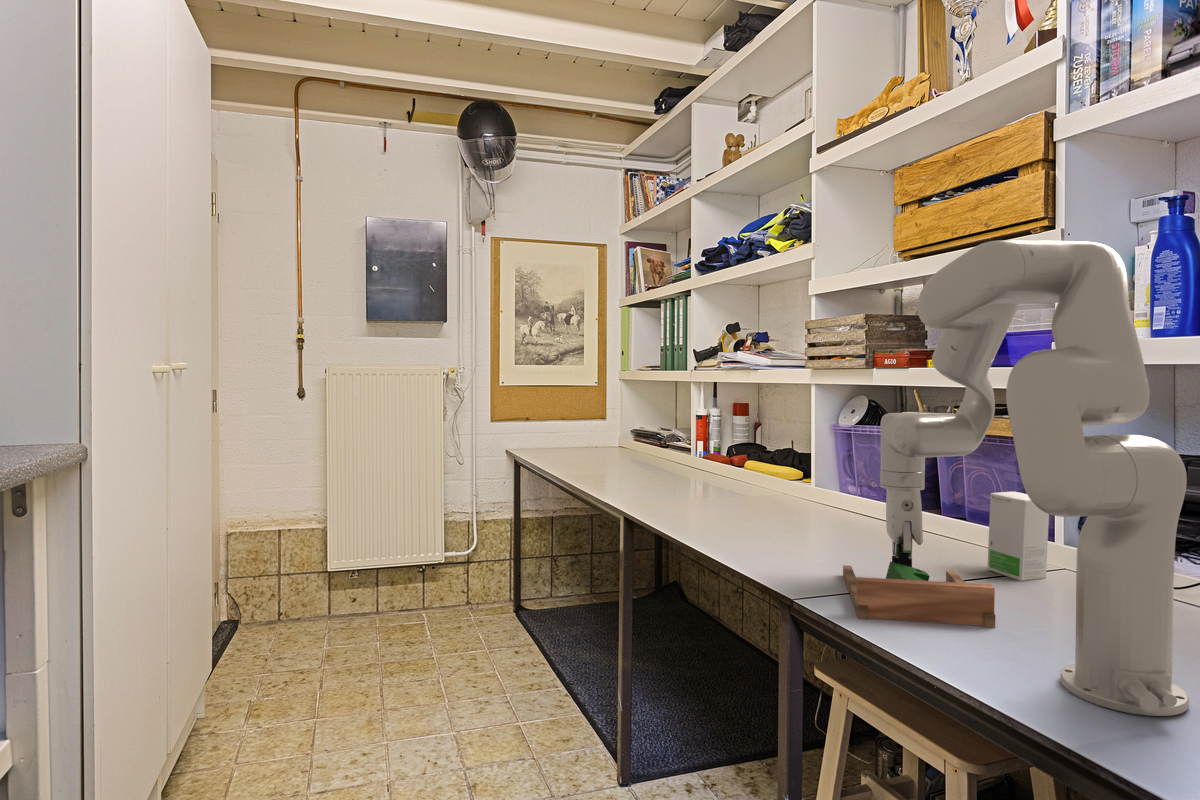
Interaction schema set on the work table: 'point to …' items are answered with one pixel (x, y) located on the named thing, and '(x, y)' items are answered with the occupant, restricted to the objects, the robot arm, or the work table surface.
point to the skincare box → (1017, 537)
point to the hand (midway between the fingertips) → (901, 578)
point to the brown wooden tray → (922, 599)
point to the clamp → (905, 573)
